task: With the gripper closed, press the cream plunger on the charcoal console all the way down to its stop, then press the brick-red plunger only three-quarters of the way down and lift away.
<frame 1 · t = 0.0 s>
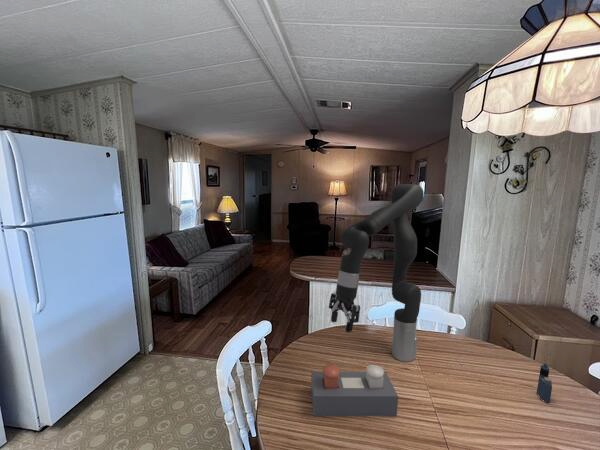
hand: (340, 326, 102), 22 cm above the table, tool pointing down, fingers open, 8 cm apart
white plunger: (374, 379, 95), point 8 cm above the table, slide at 0.0 cm
vaping device: (542, 398, 100), on the table
console: (351, 401, 96), on the table
red plunger: (330, 379, 94), point 8 cm above the table, slide at 0.0 cm
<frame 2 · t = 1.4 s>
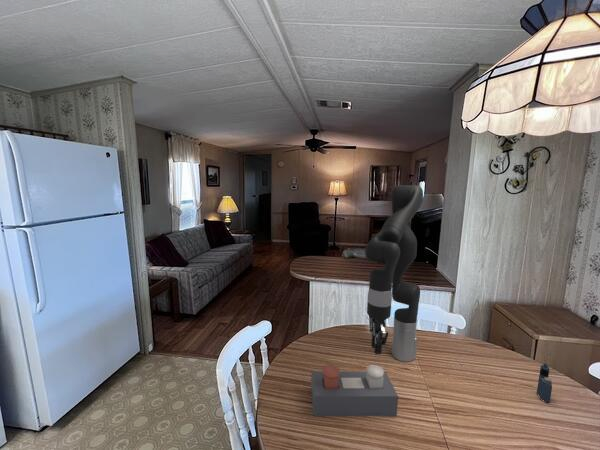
hand: (376, 350, 93), 19 cm above the table, tool pointing down, fingers open, 3 cm apart
nothing on the table moved.
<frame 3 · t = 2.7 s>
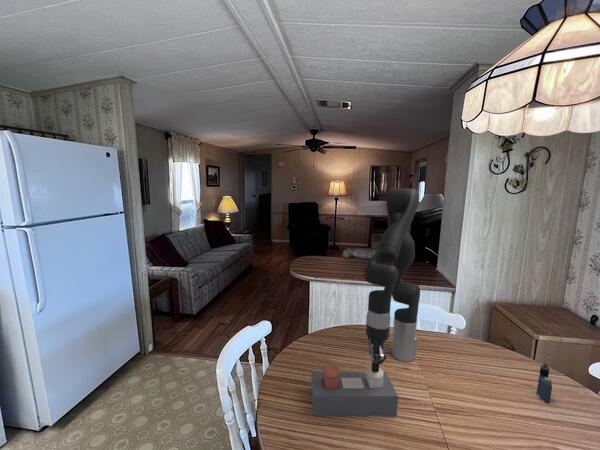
hand: (374, 370, 94), 12 cm above the table, tool pointing down, fingers closed
white plunger: (374, 381, 95), point 8 cm above the table, slide at 0.4 cm, touching gripper
everything else where it was.
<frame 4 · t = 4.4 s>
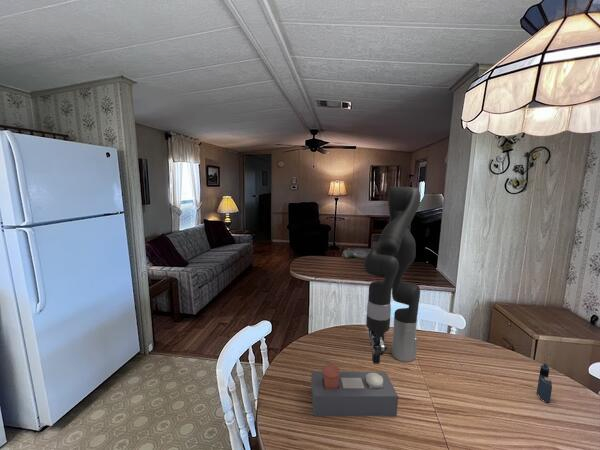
hand: (375, 362, 94), 15 cm above the table, tool pointing down, fingers closed
white plunger: (373, 388, 95), point 5 cm above the table, slide at 3.1 cm
everything else where it was.
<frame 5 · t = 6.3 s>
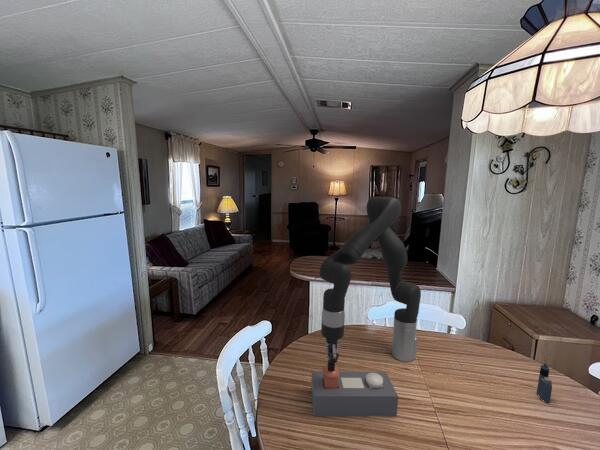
hand: (330, 369, 94), 12 cm above the table, tool pointing down, fingers closed
red plunger: (330, 379, 94), point 8 cm above the table, slide at 0.0 cm, touching gripper
everything else where it was.
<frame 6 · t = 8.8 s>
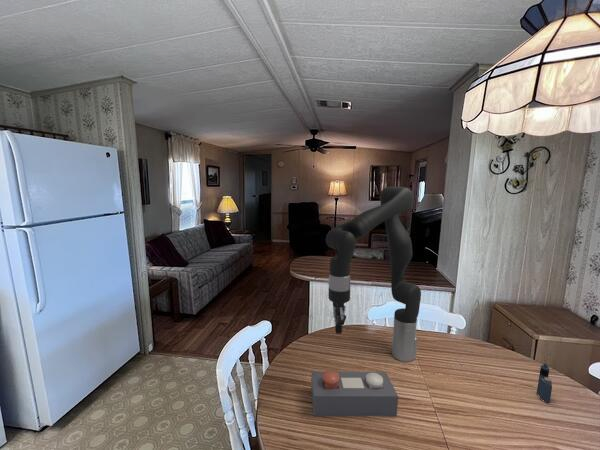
hand: (338, 332, 100), 21 cm above the table, tool pointing down, fingers closed
red plunger: (330, 385, 95), point 6 cm above the table, slide at 2.2 cm
everything else where it was.
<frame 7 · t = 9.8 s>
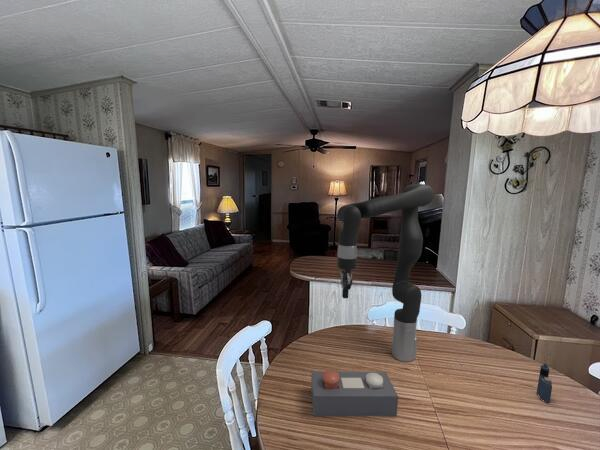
hand: (345, 297, 113), 29 cm above the table, tool pointing down, fingers closed
nothing on the table moved.
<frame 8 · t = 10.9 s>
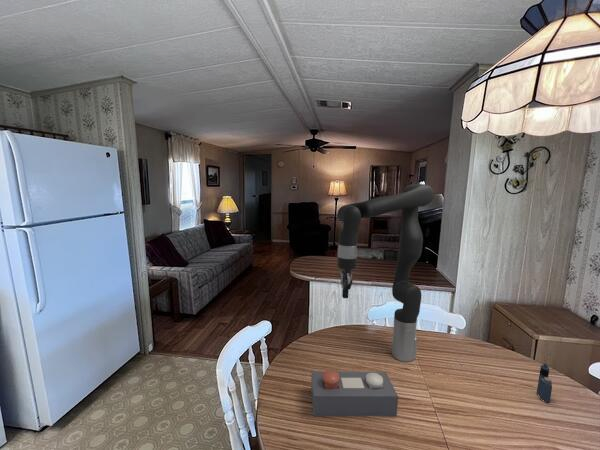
hand: (345, 297, 113), 29 cm above the table, tool pointing down, fingers closed
nothing on the table moved.
at the end: white plunger slide at 3.1 cm; red plunger slide at 2.2 cm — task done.
